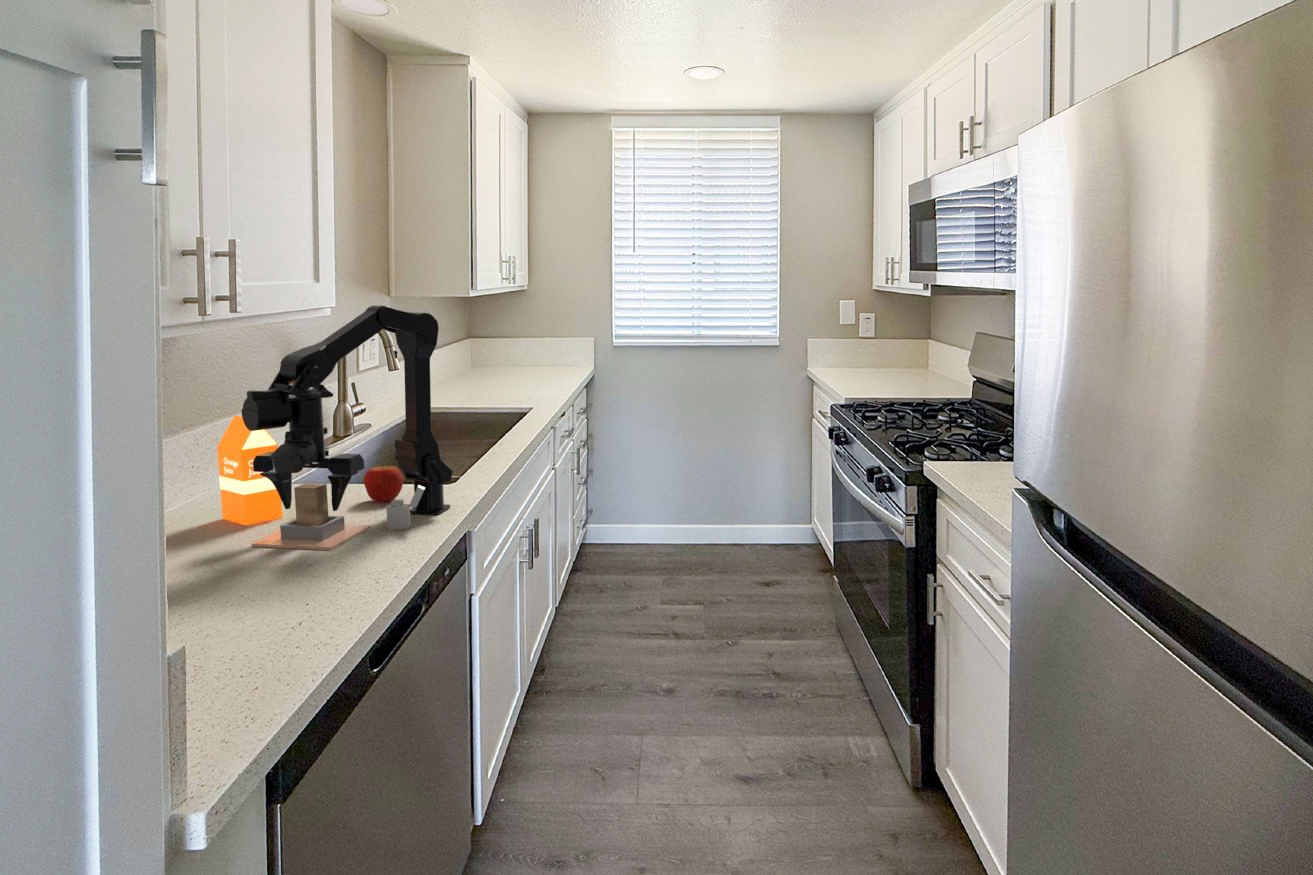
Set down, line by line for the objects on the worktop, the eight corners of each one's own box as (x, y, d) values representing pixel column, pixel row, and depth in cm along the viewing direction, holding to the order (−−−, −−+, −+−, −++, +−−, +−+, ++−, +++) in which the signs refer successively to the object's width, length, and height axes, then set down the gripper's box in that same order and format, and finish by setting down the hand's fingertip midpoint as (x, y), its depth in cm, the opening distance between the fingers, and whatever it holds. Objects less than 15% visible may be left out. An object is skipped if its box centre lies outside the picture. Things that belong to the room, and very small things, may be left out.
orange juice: (246, 525, 179) (238, 421, 175) (221, 518, 184) (213, 417, 181) (283, 517, 185) (276, 416, 181) (259, 511, 190) (252, 413, 187)
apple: (362, 498, 201) (360, 462, 199) (400, 495, 204) (398, 459, 203) (368, 506, 194) (366, 469, 192) (406, 502, 197) (405, 466, 196)
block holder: (297, 524, 179) (296, 509, 179) (371, 527, 177) (370, 512, 176) (251, 546, 164) (250, 529, 164) (331, 550, 162) (330, 533, 162)
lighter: (387, 529, 176) (385, 487, 174) (388, 527, 177) (386, 485, 176) (426, 527, 177) (424, 486, 175) (426, 525, 178) (425, 484, 177)
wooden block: (309, 530, 173) (306, 482, 171) (329, 531, 172) (326, 483, 171) (297, 536, 169) (294, 487, 167) (318, 537, 168) (314, 488, 167)
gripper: (230, 430, 161) (237, 518, 163) (332, 432, 158) (337, 522, 160) (267, 420, 172) (273, 503, 174) (363, 423, 169) (367, 507, 171)
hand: (311, 509), depth 170 cm, fingers open, 9 cm apart
